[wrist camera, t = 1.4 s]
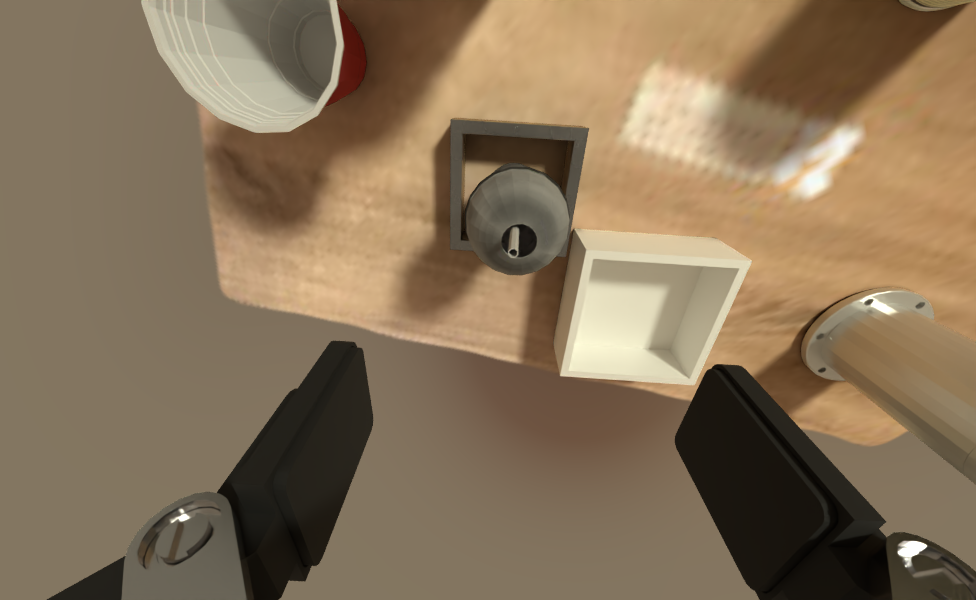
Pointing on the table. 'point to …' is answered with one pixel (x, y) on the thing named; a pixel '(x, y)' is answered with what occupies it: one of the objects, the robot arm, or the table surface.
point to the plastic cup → (259, 57)
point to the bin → (644, 305)
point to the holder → (512, 129)
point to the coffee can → (932, 4)
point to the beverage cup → (517, 219)
